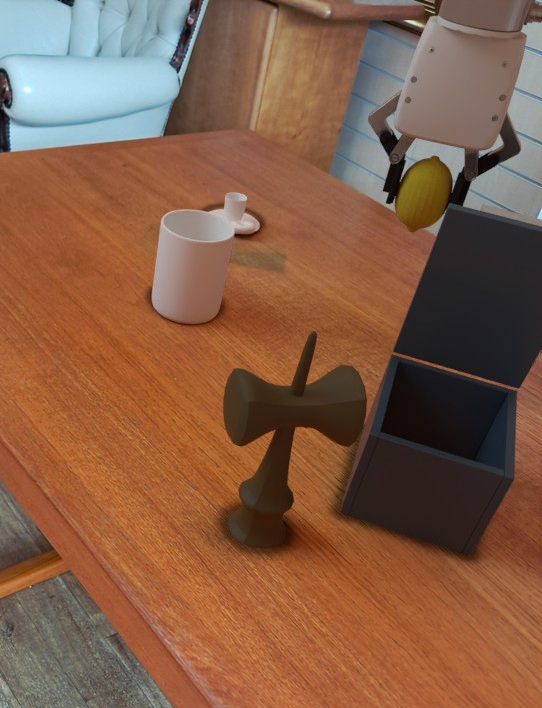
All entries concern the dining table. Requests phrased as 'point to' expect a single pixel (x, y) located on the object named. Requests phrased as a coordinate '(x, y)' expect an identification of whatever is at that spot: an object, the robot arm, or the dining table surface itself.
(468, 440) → the chest
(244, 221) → the teacup and saucer
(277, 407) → the kendama
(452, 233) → the lid
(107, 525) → the dining table surface
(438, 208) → the lemon
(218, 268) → the mug
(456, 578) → the dining table surface
